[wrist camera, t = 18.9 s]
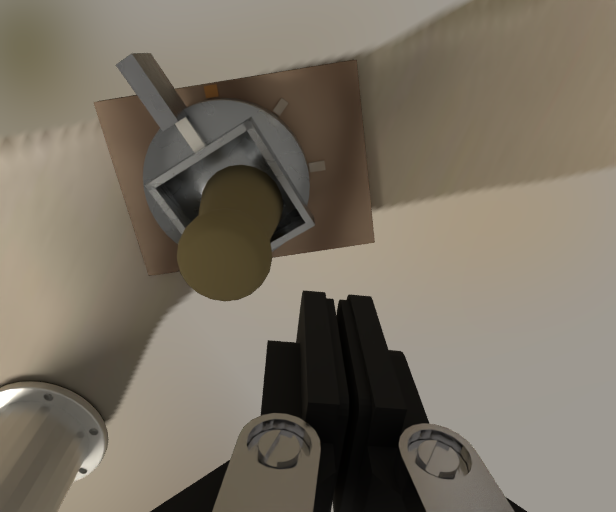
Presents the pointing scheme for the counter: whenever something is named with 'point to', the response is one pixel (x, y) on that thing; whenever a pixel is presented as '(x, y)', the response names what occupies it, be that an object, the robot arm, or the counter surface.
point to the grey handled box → (213, 151)
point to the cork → (231, 234)
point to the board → (306, 127)
